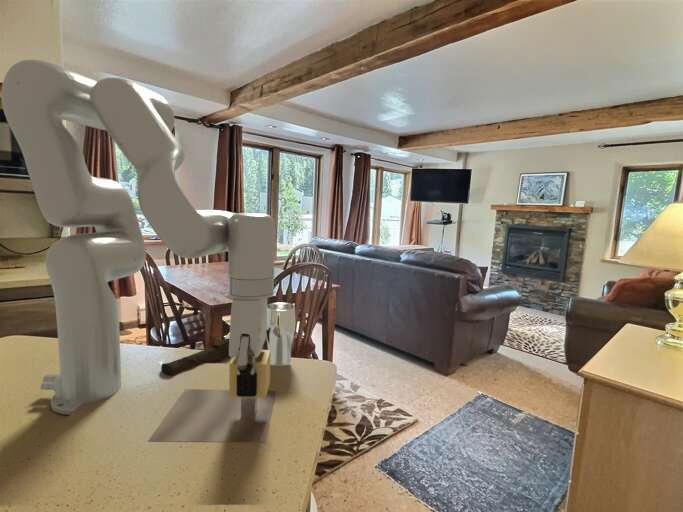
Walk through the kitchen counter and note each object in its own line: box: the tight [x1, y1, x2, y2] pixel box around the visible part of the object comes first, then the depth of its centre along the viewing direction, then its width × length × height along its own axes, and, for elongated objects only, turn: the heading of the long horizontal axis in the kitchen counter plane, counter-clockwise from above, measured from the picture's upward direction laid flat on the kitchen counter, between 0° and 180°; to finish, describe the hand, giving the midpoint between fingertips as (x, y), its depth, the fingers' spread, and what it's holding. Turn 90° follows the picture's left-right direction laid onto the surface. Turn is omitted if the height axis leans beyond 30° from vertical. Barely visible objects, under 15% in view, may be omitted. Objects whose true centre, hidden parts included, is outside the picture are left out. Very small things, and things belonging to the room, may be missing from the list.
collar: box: [228, 349, 271, 398], centre depth 64 cm, size 6×6×6 cm
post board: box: [147, 388, 278, 443], centre depth 65 cm, size 18×16×6 cm
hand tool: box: [160, 338, 230, 377], centre depth 86 cm, size 19×4×5 cm, turn 146°
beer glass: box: [265, 302, 296, 367], centre depth 87 cm, size 7×7×15 cm
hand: (250, 384), depth 65 cm, fingers closed on collar, 6 cm apart
